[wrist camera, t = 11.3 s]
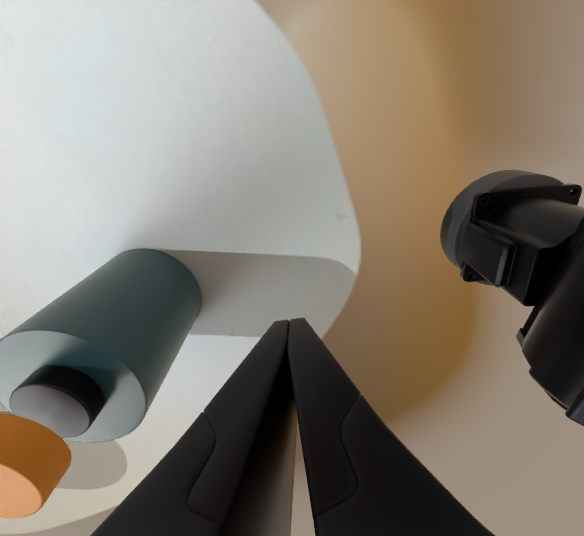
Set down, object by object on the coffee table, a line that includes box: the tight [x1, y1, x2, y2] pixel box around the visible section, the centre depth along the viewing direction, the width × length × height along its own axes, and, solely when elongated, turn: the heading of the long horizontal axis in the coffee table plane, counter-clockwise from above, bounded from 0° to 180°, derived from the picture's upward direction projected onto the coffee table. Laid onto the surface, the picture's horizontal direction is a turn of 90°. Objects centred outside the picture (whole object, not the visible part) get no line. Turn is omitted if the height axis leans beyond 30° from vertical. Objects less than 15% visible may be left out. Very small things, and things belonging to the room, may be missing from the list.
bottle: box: [0, 249, 201, 442], centre depth 17 cm, size 7×7×10 cm
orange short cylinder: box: [0, 414, 71, 518], centre depth 11 cm, size 4×4×2 cm
